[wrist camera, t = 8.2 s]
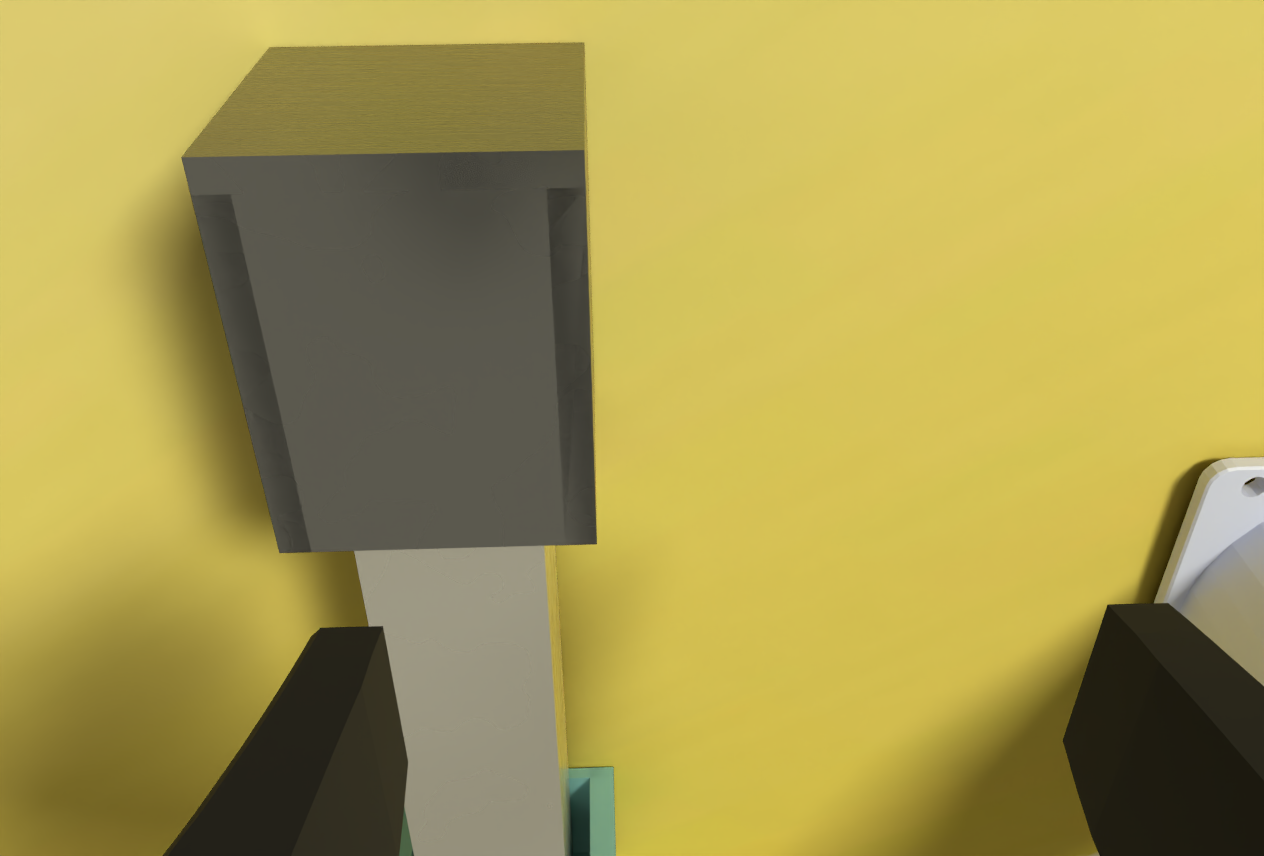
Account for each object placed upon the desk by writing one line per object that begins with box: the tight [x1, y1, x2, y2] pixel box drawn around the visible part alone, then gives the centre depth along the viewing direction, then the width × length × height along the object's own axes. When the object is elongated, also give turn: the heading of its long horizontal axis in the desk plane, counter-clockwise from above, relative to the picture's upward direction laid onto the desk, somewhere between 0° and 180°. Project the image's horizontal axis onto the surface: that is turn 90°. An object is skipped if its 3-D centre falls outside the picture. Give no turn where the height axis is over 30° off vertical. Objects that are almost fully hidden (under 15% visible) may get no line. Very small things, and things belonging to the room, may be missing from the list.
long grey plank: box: [354, 545, 573, 856], centre depth 23 cm, size 3×14×3 cm, turn 1°
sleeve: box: [182, 43, 597, 553], centre depth 18 cm, size 5×6×5 cm
